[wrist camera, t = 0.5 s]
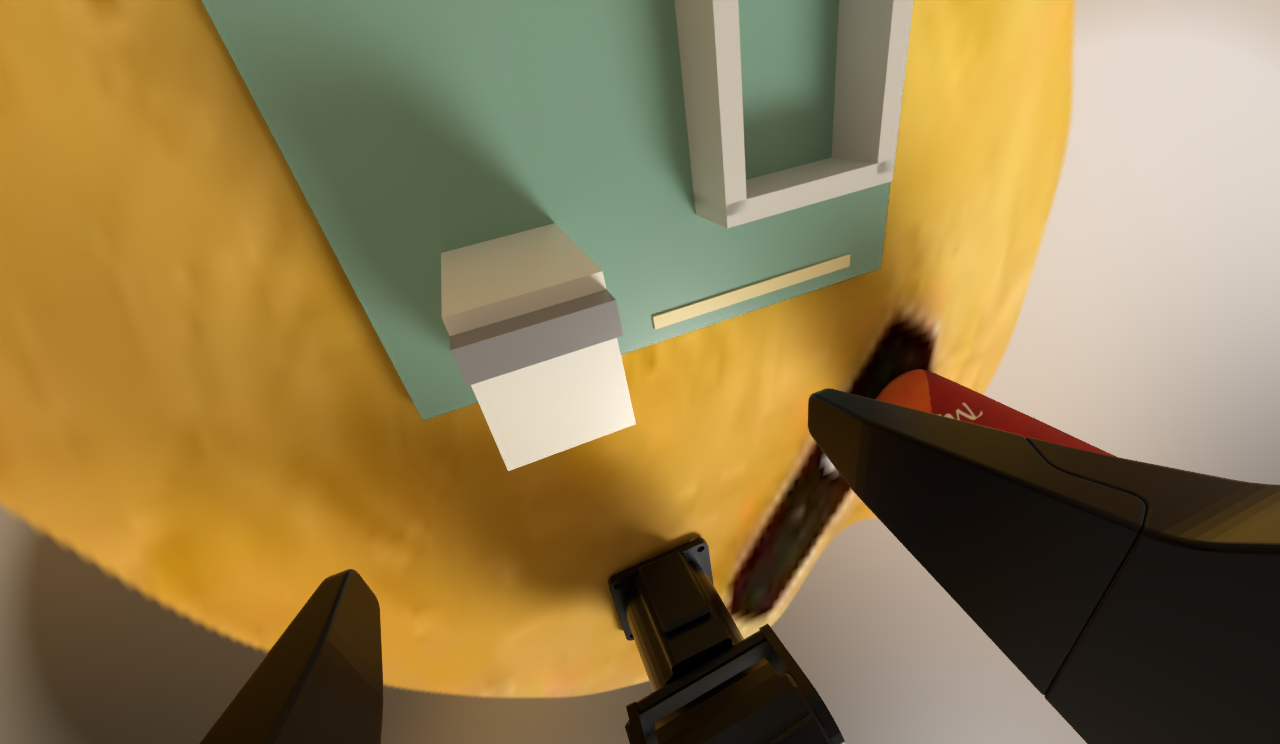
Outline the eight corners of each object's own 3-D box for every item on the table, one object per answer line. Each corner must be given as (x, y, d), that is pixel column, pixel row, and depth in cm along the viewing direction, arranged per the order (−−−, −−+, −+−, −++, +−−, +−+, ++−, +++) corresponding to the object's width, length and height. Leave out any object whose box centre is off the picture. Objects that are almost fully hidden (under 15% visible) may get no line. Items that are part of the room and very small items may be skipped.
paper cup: (867, 364, 28) (1169, 546, 16) (963, 344, 30) (1287, 490, 19) (840, 467, 32) (1069, 673, 20) (927, 442, 34) (1177, 614, 22)
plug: (586, 344, 20) (645, 439, 14) (490, 375, 19) (511, 489, 13) (555, 223, 17) (611, 280, 11) (440, 253, 16) (441, 331, 10)
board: (865, 262, 24) (923, 283, 21) (423, 407, 19) (420, 459, 17) (903, -129, 16) (1001, -178, 14) (190, -46, 12) (109, -95, 9)
